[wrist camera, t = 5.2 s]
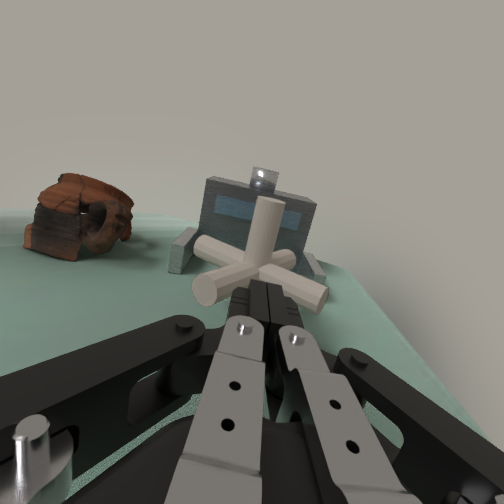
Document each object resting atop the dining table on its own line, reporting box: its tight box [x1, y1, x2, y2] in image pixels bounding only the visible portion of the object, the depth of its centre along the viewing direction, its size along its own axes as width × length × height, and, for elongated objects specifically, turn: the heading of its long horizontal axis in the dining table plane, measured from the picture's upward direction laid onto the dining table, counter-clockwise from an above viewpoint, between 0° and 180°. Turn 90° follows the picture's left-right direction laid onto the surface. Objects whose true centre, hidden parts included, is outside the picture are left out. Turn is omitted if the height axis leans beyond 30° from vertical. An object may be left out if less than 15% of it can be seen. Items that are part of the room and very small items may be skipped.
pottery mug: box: [23, 173, 134, 261], centre depth 28 cm, size 12×10×8 cm
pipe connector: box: [192, 196, 329, 315], centre depth 19 cm, size 10×10×10 cm
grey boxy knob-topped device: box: [168, 167, 326, 285], centre depth 33 cm, size 15×13×11 cm
